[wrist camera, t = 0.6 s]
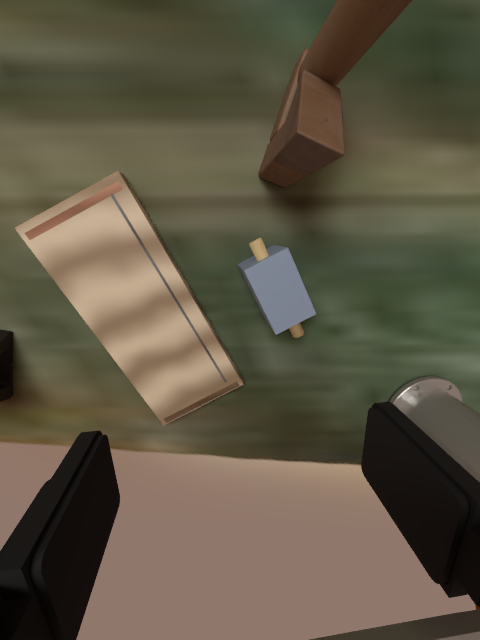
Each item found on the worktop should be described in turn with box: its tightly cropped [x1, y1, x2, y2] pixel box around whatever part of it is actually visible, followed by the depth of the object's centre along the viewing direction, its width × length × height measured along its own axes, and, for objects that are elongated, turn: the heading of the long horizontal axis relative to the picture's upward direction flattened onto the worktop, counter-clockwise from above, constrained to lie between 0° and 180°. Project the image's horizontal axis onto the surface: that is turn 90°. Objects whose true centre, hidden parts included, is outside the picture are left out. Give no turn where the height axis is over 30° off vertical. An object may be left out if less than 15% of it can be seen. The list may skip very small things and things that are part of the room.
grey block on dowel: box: [237, 237, 316, 338], centre depth 32 cm, size 12×5×6 cm, turn 27°
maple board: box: [15, 171, 243, 425], centre depth 33 cm, size 28×12×2 cm, turn 27°
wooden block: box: [259, 0, 412, 188], centre depth 21 cm, size 4×11×18 cm, turn 161°
